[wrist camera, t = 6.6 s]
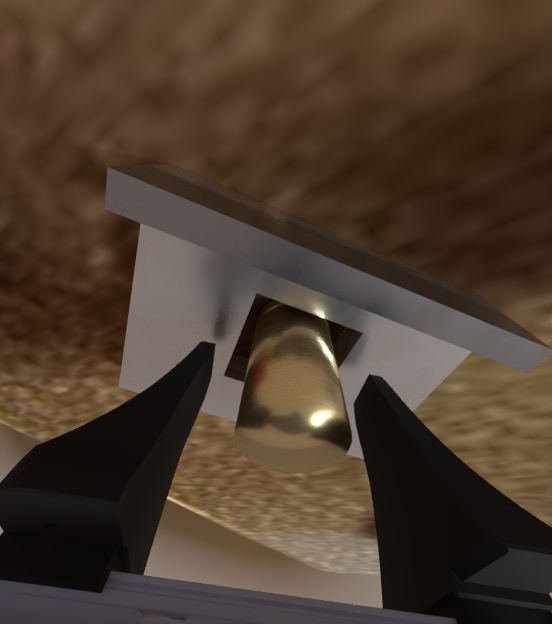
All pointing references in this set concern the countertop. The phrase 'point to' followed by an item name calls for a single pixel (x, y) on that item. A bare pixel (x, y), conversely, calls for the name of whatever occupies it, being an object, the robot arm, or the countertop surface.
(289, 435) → the brass cylinder
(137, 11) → the countertop surface
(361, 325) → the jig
